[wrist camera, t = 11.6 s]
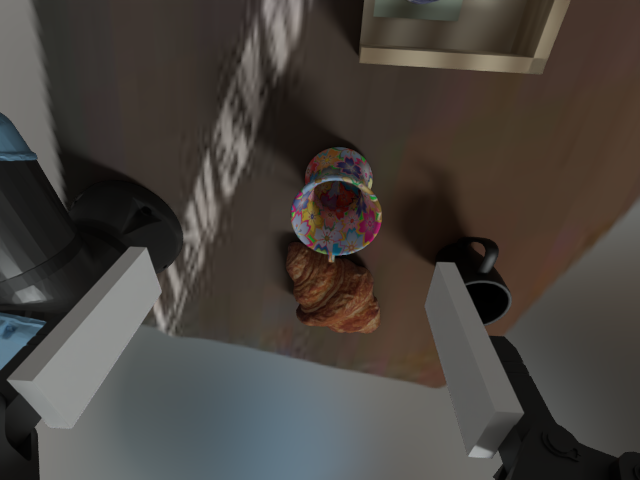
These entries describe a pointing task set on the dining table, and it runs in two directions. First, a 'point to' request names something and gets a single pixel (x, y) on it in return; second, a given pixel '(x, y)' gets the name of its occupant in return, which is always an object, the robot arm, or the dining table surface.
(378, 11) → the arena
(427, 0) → the pill bottle
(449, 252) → the mug
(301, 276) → the pastry
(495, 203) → the dining table surface
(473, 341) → the robot arm
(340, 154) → the mug
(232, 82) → the dining table surface
